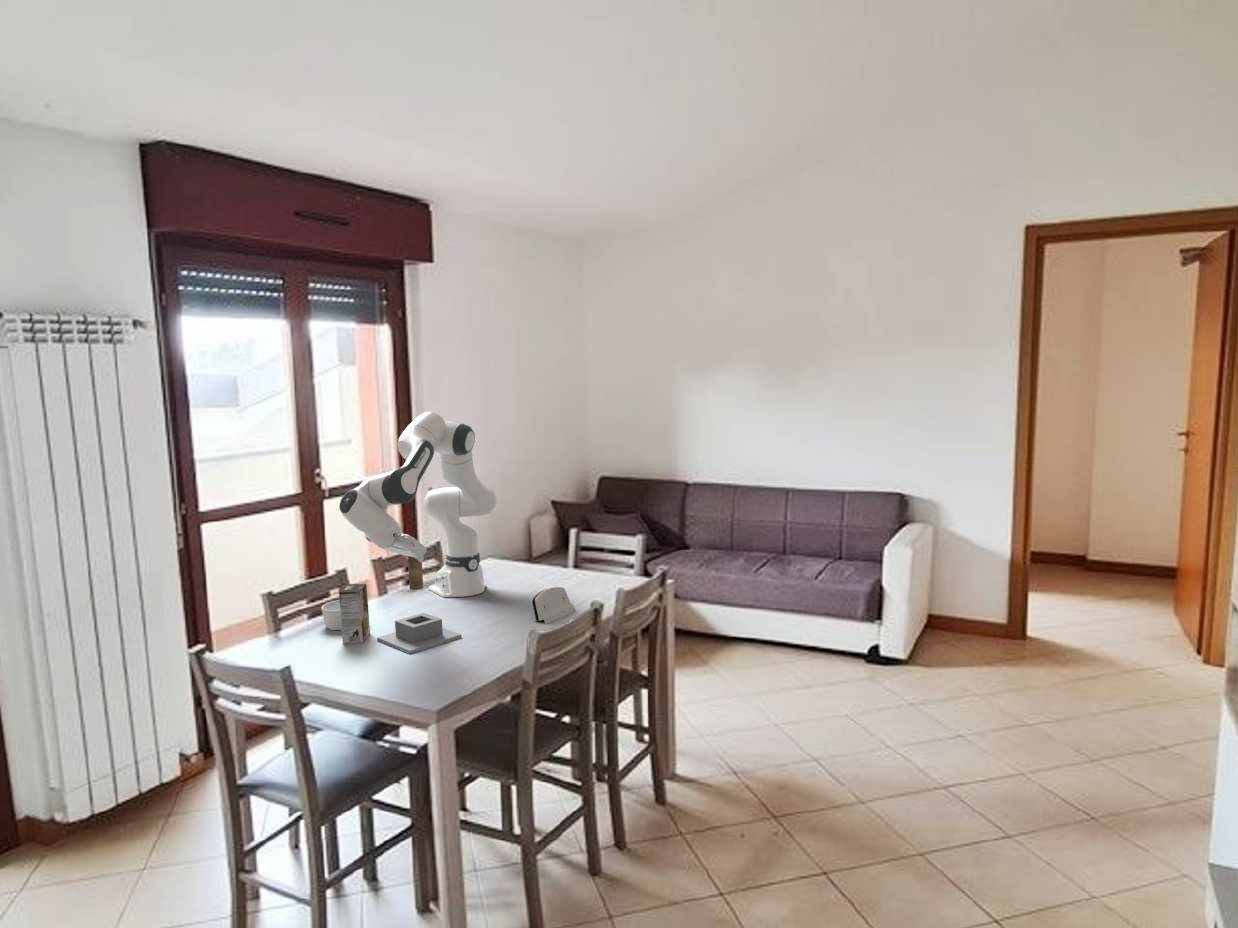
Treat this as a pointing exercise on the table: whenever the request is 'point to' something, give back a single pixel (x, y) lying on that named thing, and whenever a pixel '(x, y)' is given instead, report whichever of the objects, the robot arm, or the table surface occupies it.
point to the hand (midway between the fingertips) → (416, 558)
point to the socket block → (418, 633)
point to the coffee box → (354, 613)
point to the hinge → (550, 604)
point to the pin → (415, 574)
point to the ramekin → (332, 615)
